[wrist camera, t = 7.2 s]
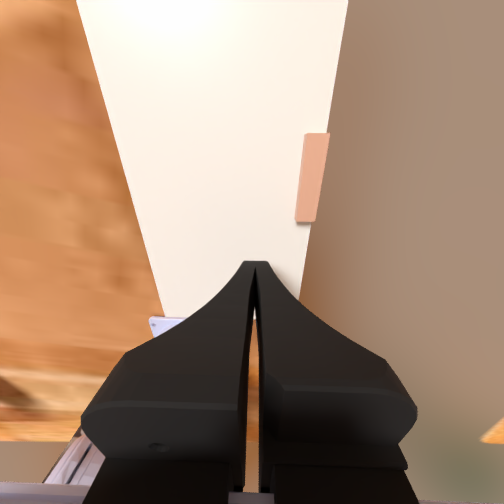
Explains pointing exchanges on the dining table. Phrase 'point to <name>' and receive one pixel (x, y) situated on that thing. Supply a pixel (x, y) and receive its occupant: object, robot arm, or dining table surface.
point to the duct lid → (218, 130)
